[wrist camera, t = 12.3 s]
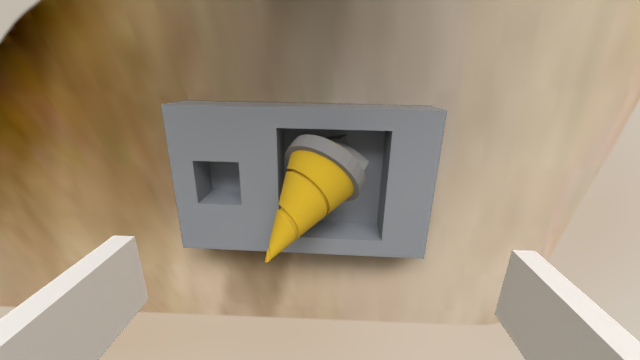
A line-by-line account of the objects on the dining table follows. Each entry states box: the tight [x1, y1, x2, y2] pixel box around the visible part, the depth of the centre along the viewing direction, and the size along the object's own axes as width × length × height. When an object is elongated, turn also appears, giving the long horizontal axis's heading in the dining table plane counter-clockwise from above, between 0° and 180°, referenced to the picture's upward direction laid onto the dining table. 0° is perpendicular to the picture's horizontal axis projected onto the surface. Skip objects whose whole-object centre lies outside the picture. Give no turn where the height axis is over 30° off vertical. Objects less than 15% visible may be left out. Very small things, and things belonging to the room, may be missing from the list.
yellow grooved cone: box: [265, 134, 369, 262], centre depth 18 cm, size 5×5×10 cm
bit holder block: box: [161, 100, 447, 259], centre depth 21 cm, size 17×10×3 cm, turn 89°
